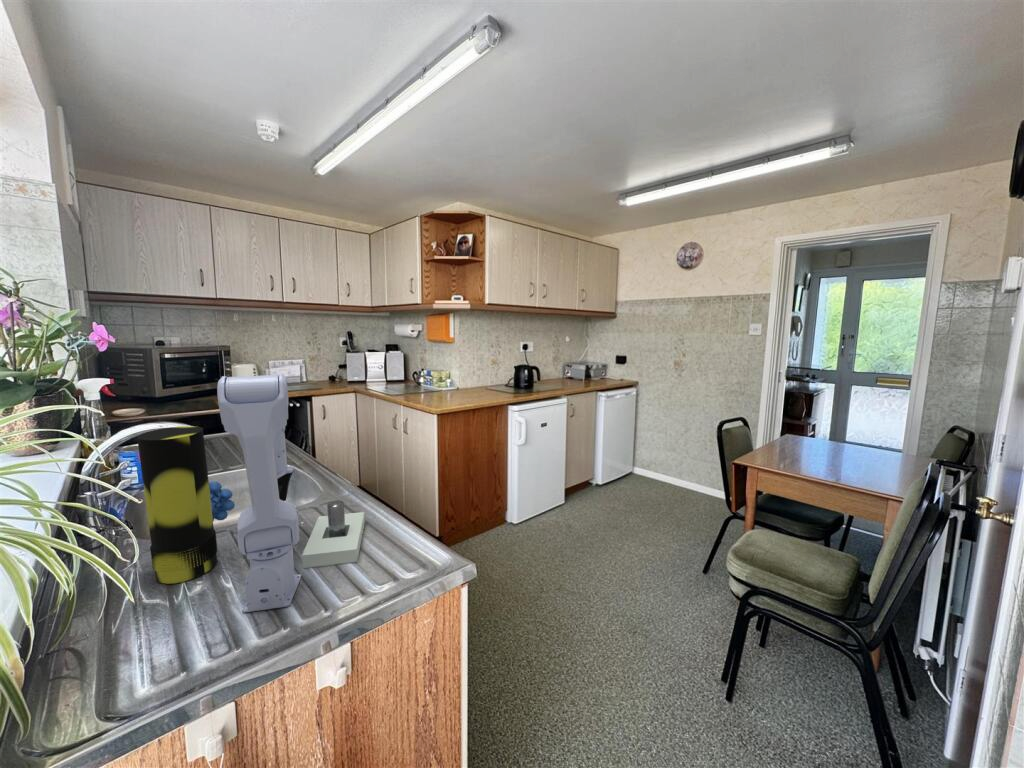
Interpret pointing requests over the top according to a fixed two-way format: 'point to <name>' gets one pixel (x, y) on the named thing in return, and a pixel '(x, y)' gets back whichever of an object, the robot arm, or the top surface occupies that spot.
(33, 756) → the top surface
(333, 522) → the peg
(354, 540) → the hole block
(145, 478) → the container
